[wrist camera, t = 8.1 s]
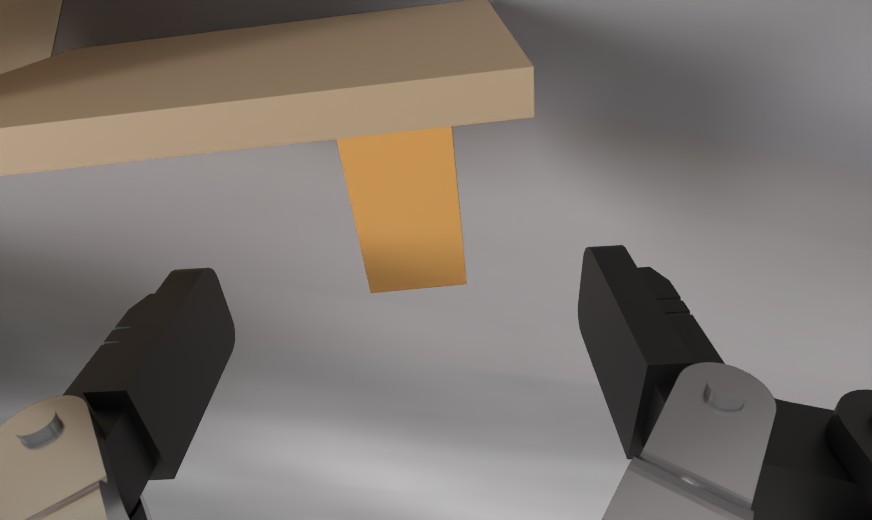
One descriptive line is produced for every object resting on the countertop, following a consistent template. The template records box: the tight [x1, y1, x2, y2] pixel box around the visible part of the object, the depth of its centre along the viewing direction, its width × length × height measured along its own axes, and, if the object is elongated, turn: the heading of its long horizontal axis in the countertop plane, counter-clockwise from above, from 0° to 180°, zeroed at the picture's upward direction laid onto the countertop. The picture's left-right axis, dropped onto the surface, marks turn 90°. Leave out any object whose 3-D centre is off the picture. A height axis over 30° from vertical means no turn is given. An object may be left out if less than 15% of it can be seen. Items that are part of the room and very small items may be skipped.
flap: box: [0, 0, 534, 293], centre depth 17 cm, size 5×16×11 cm, turn 96°
